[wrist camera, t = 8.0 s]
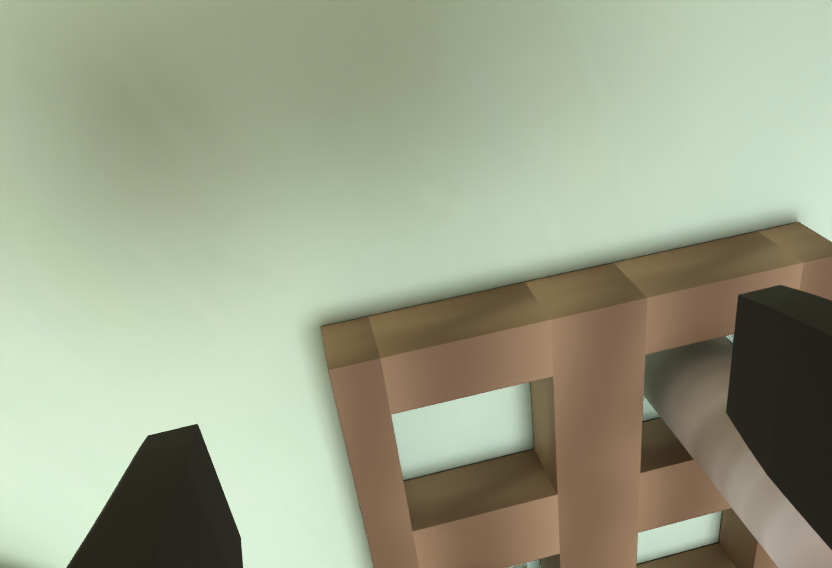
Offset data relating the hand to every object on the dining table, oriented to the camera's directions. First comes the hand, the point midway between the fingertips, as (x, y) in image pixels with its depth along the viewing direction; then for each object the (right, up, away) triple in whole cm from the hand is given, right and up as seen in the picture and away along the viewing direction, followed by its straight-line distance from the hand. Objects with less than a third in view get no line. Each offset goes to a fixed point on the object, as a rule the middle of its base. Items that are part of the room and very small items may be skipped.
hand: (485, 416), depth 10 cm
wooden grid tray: (+4, -4, +14) cm, 16 cm away
